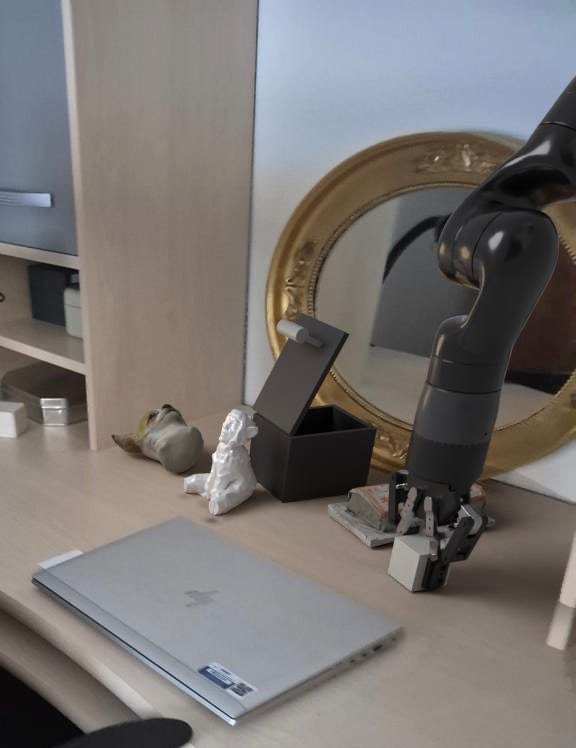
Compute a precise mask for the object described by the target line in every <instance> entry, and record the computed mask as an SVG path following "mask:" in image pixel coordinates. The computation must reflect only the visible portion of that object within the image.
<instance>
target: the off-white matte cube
mask: <svg viewBox="0 0 576 748" xmlns="http://www.w3.org/2000/svg"><path fill="white" fill-rule="evenodd" d="M442 548H445V540H444V539H442V540H441V548H440V549H442ZM428 558H430V557H429V539H428V538H426V532H425V533H419V534H412V535H406V536H400V537H395V541H393V546H392V551H391V555H390V560H389V564H388V568H387V574H388V575H389V576H391V577H392V578H393V579H395V581H397V582H398V583H400V584H401V585H402V586H403V587H404V588H406V589H407V590H408V591H410V592H411V593H412V592H413V593H414V592H417V591H418V592H419V591H424V590H425V589H424V588H423V587H422V586H421V585H422V581H423V577H424V573H425V568H426V564H427V560H428ZM452 564H453V562H452V563H450V564H449V568H448V572H447V576H446V580H445V583H444V585H443V586H442V587H446V586H447V583H448V580H449V576H450V573H451V568H452Z"/></svg>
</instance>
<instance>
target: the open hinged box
mask: <svg viewBox="0 0 576 748" xmlns="http://www.w3.org/2000/svg"><path fill="white" fill-rule="evenodd" d="M252 419H253V422H255V423H256V424H255V427H258V434H257V435H255V437H253V438H251V439H250V444H249V452H248V454H249V457H250V463H251V467H252V468H253V472H254V473H255V477H256V480H257V484H260V486H262V487H263V488H264V489H265V490H266V491H268V492H269V493H270V494H271V495H272V496H273V497H275V498H276V499H277V500H278V501H280V502H281V503H282V504H285V503H291V502H298V501H304V500H311V499H318V498H326V497H327V498H328V497H333V496H341V495H348V493H349V491H351V490H352V489H355V488H359V487H366V486H367V484H368V478H369V474H370V468H371V464H372V458H373V457H372V456H373V452H374V447H375V441H376V437H377V432H378V428H376V427H375V426H374V425H372V424H370V423H368V422H366V421H365V420H363V419H362V418H359V417H358V416H357V415H354V414H353V413H351V412H349V411H348V410H345V409H344V408H342V407H340V406H339V405H336V404H335V403H333V404H324V405H313V406H310V407H309V409H308V411H307V413H306V415H305V416H304V418H303V420H302V422H301V424H300V425H299V427H298V429H297V431H296V433H295V435H294V436H292V435H289V434H288V433H286V432H285V431H284V430H282V429H281V428H279V427H278V426H276V425H275V424H273V423H272V422H270V421H269V420H268V419H266V418H265V417H263V416H262V415H260V414H259V413H257V412H253V415H252Z"/></svg>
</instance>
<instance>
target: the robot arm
mask: <svg viewBox="0 0 576 748" xmlns="http://www.w3.org/2000/svg"><path fill="white" fill-rule="evenodd" d="M558 96H559V97H557V98H556V100H555V101H554V102H553V104H552V105H551V107H550V108H549V109H548V111H547V112H546V113H545V115H543V118H542V119H541V120H540V121H539V123H538V125H537V126H536V128H534V130H533V131H532V133H531V134H530V136H529V137H528V138H527V140H526V141H525V143H524V144H523V145H522V146H521V147H520V148H519V149H517V151H515V152H514V153H513V154H512V155H510V156H509V157H508V158H507V159H506V160H504V161H503V162H502V163H501V164H500V165H499V166H498V167H497V168H496V169H495V170H494V171H493V172H491V174H489V175H488V176H487V177H486V178H485V179H483V181H482V182H481V183H480V184H478V185H477V187H475V188H474V189H473V190H472V191H471V192H470V193H469V194H468V195H466V197H465V198H464V199H463V200H462V201H461V202H460V203H459V205H458V206H457V207H456V208H455V210H453V212H452V213H451V215H450V216H449V218H448V219H447V221H446V223H445V224H444V226H443V228H442V231H441V233H440V236H439V238H438V242H437V245H436V246H437V247H436V251H435V259H436V266H437V269H438V271H439V273H440V274H441V275H442V277H443V278H444V279H445V280H447V281H448V282H450V283H452V284H455V285H457V286H461V287H463V288H468V289H472V290H476V291H478V295H477V297H476V300H475V302H474V304H473V306H472V308H471V310H470V311H469V313H468V314H462V315H455V316H452V317H448V318H447V319H445V320H444V321H443V322H441V324H440V325H439V326H438V328H437V329H436V330H437V331H436V332H435V336H434V340H433V343H432V348H431V352H430V357H429V362H428V367H427V371H426V376H425V380H424V383H423V387H422V390H421V392H420V395H419V397H418V402H417V404H416V408H415V409H416V410H415V414H414V419H413V423H412V427H411V428H412V429H411V433H410V438H409V443H408V448H407V453H406V457H405V462H404V463H405V464H404V466H405V469H400V470H395V471H390V472H389V475H388V483H389V501H388V522H389V524H390V525H395V526H396V528H397V529H396V533H397V535H398V536H399V537H400V536H406V535H412V534H419V533H421V531H422V529H423V527H424V525H425V523H426V538H428V539H429V557H430V558H428V560H427V564H426V568H425V573H424V577H423V581H422V585H421V586H422V587H423V588H424V590H425V591H432V590H438V589H441V588H442V587H444V586H443V585H444V583H445V580H446V576H447V572H448V568H449V564H450V563H452V564H453V563H458V562H462V561H463V562H464V561H467V560H468V559H469V557H470V556H471V554H472V552H473V550H475V549H474V548H475V547H476V545H477V543H478V542H479V540H480V539H481V537H482V534H483V533H484V531H485V530H486V528H487V527H486V526H487V524H488V521H489V519H488V515H487V514H486V513H483V514H480V515H477V514H476V512H475V511H474V510H473V509H472V508H471V507H470V504H471V495H470V491H471V487H472V485H473V484H474V483H476V482H477V481H478V480H479V479H480V478H481V477H482V474H483V472H484V468H485V465H486V460H487V456H488V453H489V449H490V445H491V441H492V438H493V434H494V430H495V427H496V423H497V419H498V416H499V411H500V405H501V395H502V390H503V385H504V382H505V378H506V374H507V370H508V367H509V364H510V360H511V356H512V351H513V348H514V345H515V343H516V341H517V339H518V337H519V336H520V334H521V332H522V331H523V330H524V327H525V326H526V324H527V323H528V320H529V318H530V316H531V314H532V313H533V311H534V308H535V307H536V306H537V304H538V302H539V301H540V298H541V297H542V295H543V294H544V292H545V290H546V288H547V286H548V284H549V282H550V280H551V278H552V276H553V274H554V271H555V268H556V265H557V262H558V258H559V252H560V236H559V230H558V227H557V225H556V222H555V221H554V219H553V218H552V217H551V216H550V215H549V214H548V213H546V212H544V211H545V210H546V209H547V208H550V207H553V206H557V205H561V204H562V205H563V204H569V203H573V202H575V201H576V75H575V76H574V77H573V78H572V79H571V80H570V81H569V83H568V84H567V85H566V86H565V88H564V89H563V91H562V92H561V94H560V95H558ZM400 503H403V509H402V511H401V513H398V506H399V504H400ZM446 525H449V526H448V528H446V529H441V530H438V529H437V527H440V526H446ZM441 540H444V542H445V548H442V549H440V548H441Z"/></svg>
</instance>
